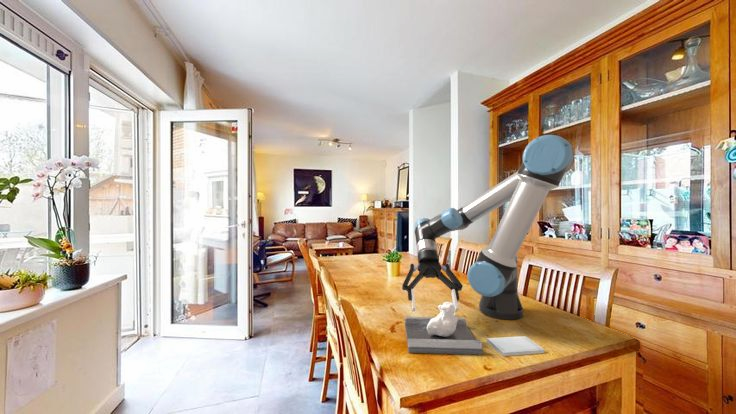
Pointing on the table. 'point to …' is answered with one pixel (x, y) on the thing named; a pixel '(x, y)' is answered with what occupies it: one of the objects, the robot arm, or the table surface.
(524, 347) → the hard drive
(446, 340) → the rail plate
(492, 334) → the table surface
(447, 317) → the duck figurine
